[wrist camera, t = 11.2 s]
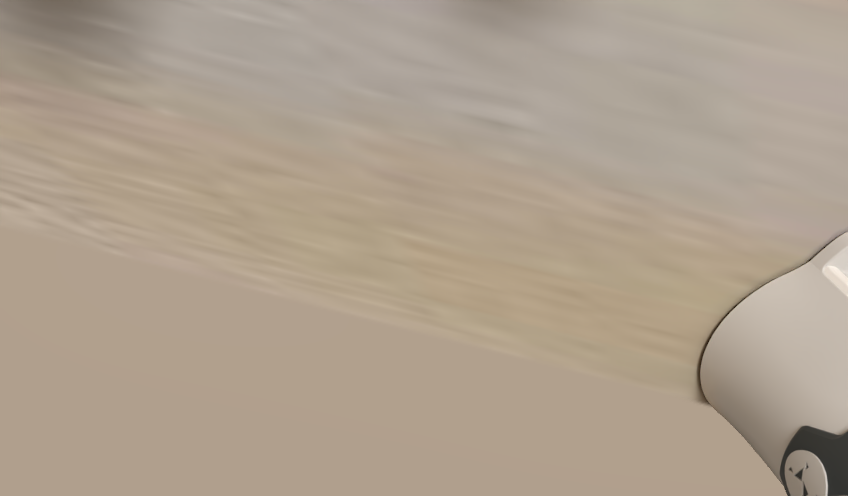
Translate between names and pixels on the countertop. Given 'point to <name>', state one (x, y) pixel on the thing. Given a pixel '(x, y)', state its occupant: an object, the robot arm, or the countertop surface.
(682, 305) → the countertop surface
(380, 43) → the countertop surface
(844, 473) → the robot arm
